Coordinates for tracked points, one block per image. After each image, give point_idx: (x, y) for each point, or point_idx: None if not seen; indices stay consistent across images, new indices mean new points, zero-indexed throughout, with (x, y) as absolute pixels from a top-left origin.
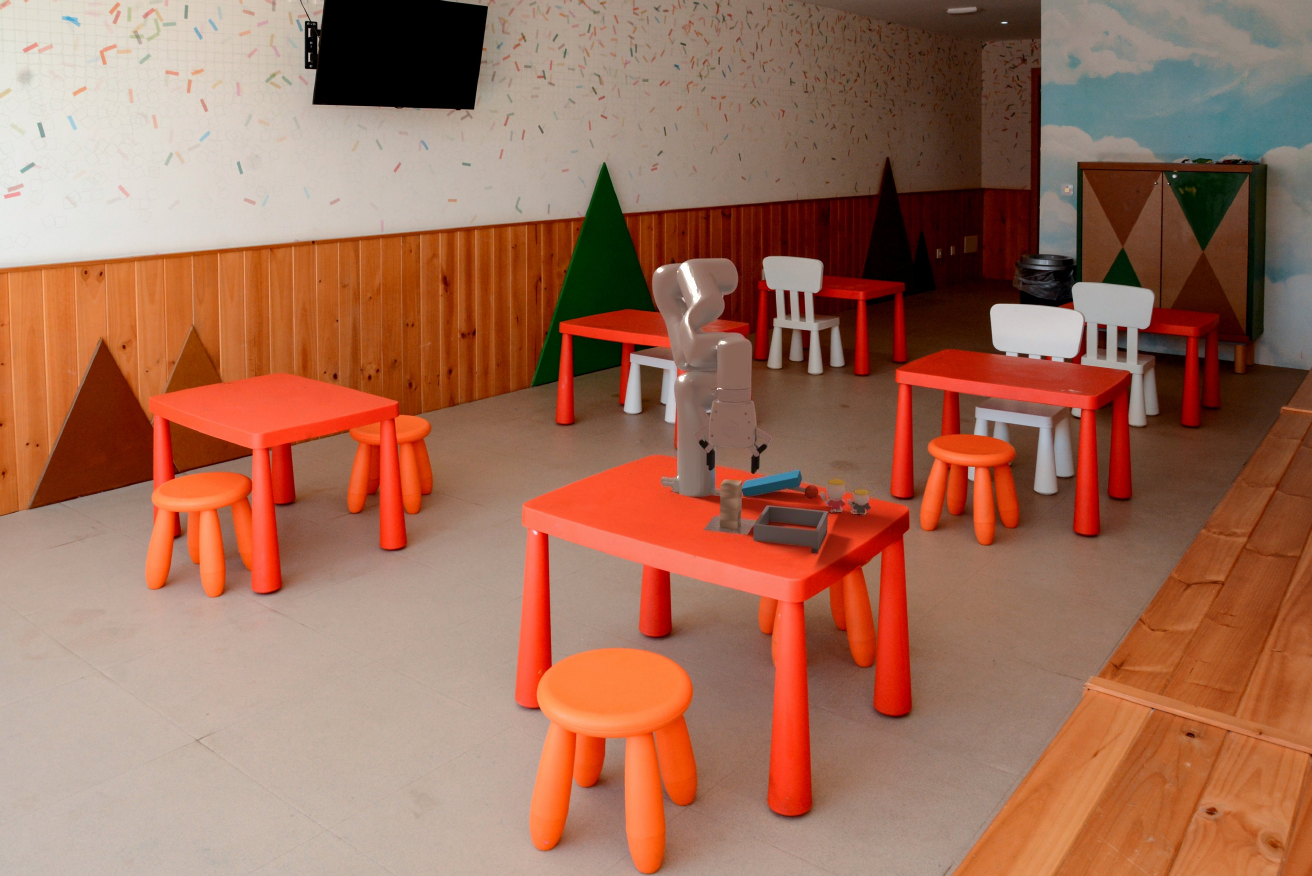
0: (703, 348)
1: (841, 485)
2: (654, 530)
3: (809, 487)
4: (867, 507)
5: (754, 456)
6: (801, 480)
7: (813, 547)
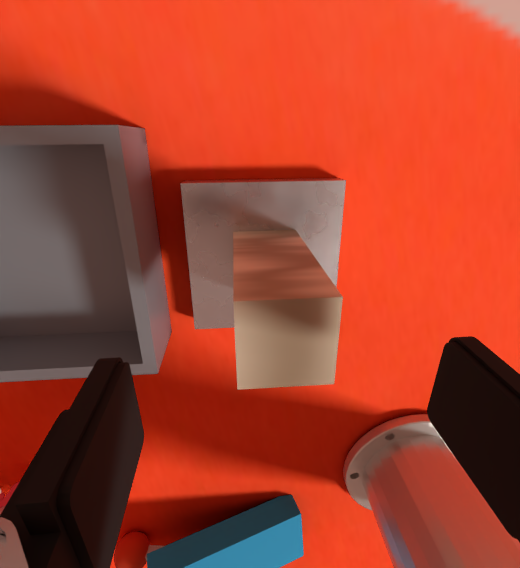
0: None
1: None
2: (503, 179)
3: (131, 562)
4: None
5: (20, 513)
6: None
7: None
